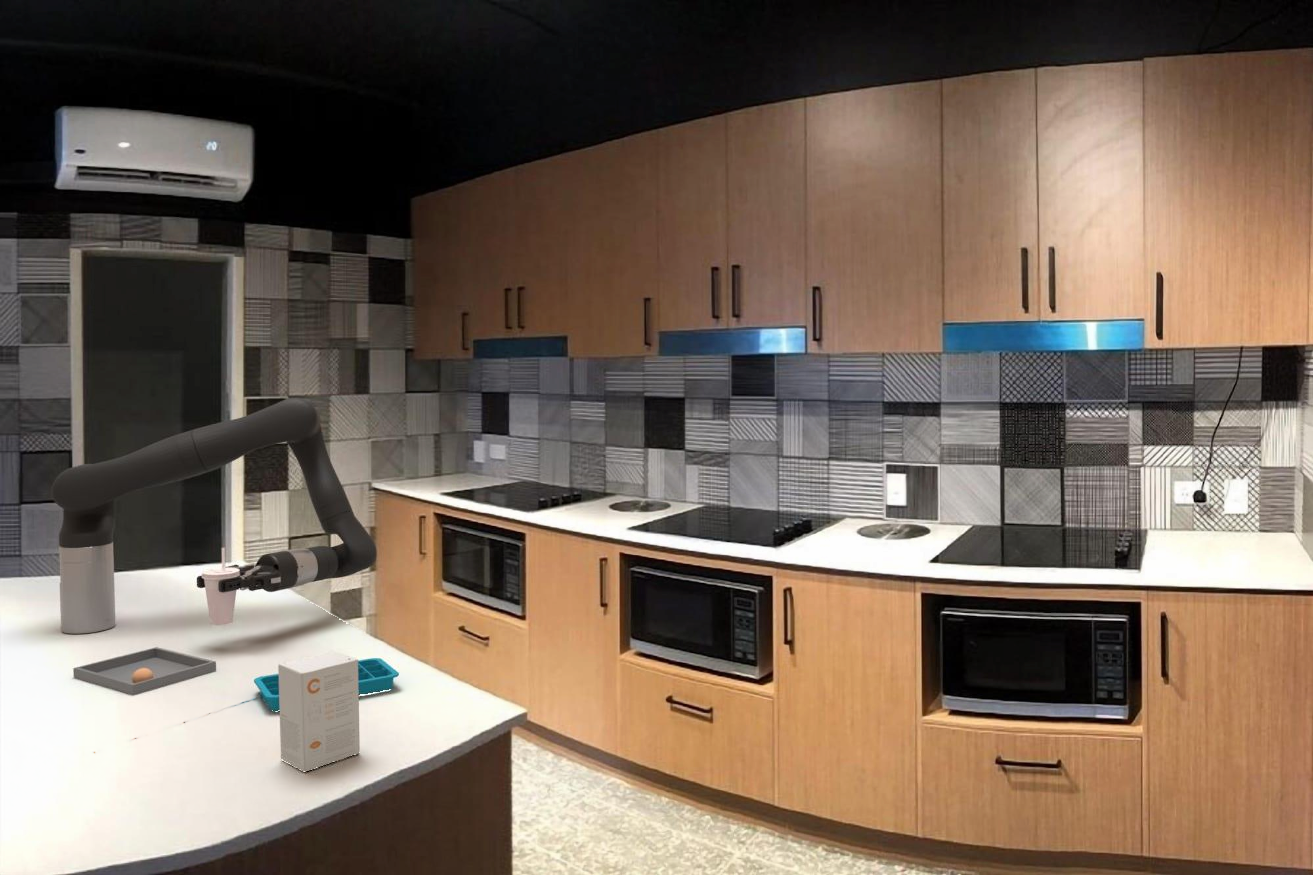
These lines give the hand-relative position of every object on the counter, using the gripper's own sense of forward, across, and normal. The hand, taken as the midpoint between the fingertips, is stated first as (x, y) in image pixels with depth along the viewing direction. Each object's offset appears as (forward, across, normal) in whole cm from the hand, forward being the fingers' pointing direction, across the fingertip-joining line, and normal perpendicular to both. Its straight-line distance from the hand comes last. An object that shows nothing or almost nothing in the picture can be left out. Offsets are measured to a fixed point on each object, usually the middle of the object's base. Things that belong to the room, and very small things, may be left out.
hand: (209, 584), depth 164 cm
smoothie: (-2, 0, +8) cm, 8 cm away
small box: (+21, +55, +12) cm, 61 cm away
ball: (+17, +8, +12) cm, 23 cm away
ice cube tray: (+3, +35, +13) cm, 38 cm away
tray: (+13, +2, +13) cm, 19 cm away
